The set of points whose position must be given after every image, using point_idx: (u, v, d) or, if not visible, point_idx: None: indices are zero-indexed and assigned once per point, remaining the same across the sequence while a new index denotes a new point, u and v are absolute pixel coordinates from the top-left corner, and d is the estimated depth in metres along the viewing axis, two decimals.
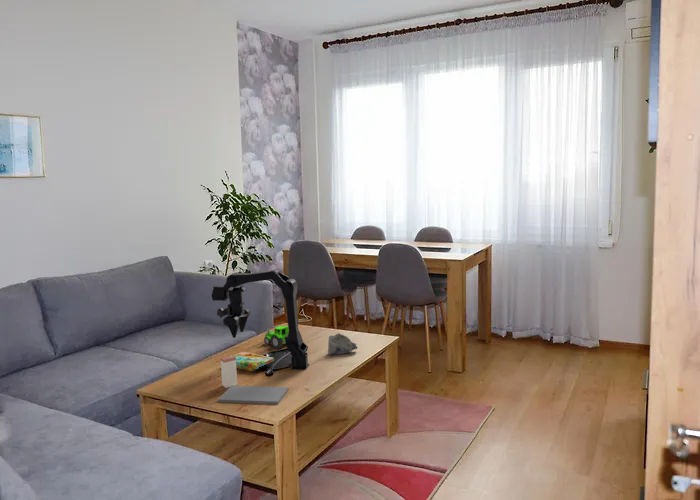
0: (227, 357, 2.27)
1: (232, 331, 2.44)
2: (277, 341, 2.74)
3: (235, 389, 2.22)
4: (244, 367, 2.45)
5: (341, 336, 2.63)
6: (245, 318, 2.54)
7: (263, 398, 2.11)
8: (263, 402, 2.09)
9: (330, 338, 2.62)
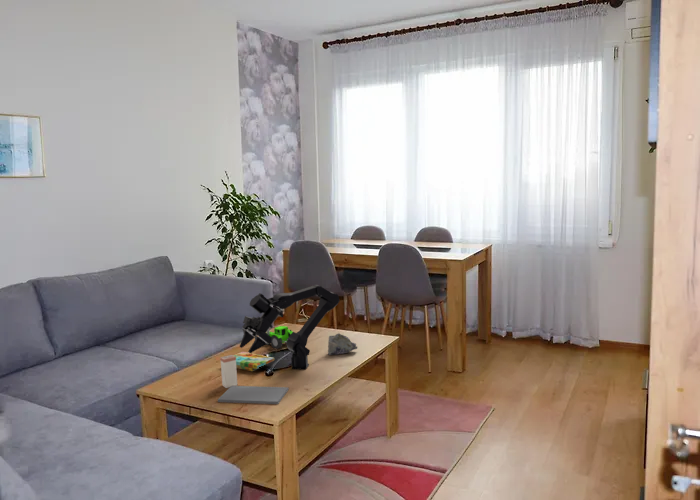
0: (227, 357, 2.27)
1: (254, 346, 2.27)
2: (277, 341, 2.74)
3: (235, 389, 2.22)
4: (244, 367, 2.45)
5: (341, 336, 2.63)
6: (252, 337, 2.38)
7: (263, 398, 2.11)
8: (263, 402, 2.09)
9: (330, 338, 2.62)
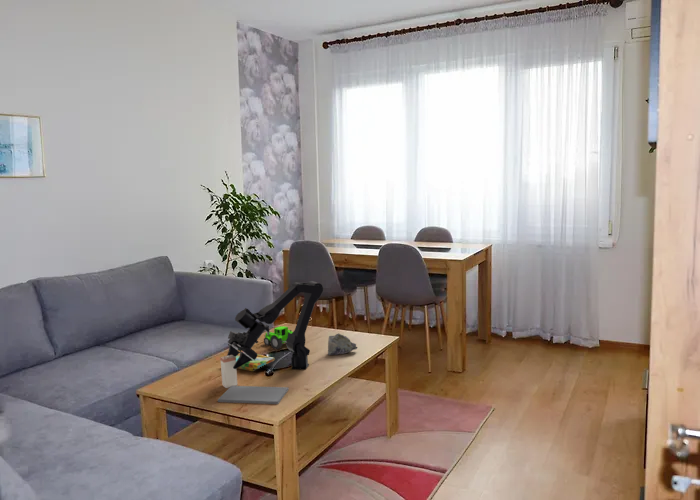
0: (227, 357, 2.27)
1: (239, 361, 2.24)
2: (277, 342, 2.73)
3: (235, 389, 2.22)
4: (245, 367, 2.45)
5: (341, 336, 2.63)
6: (237, 352, 2.35)
7: (263, 398, 2.11)
8: (263, 402, 2.09)
9: (330, 338, 2.62)
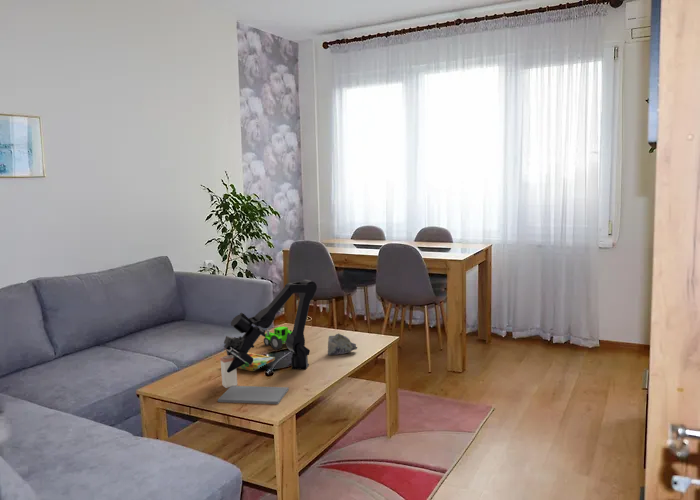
0: (227, 357, 2.27)
1: (232, 365, 2.25)
2: (277, 342, 2.73)
3: (235, 389, 2.22)
4: (245, 367, 2.45)
5: (341, 336, 2.63)
6: None
7: (263, 398, 2.11)
8: (263, 402, 2.09)
9: (330, 338, 2.62)
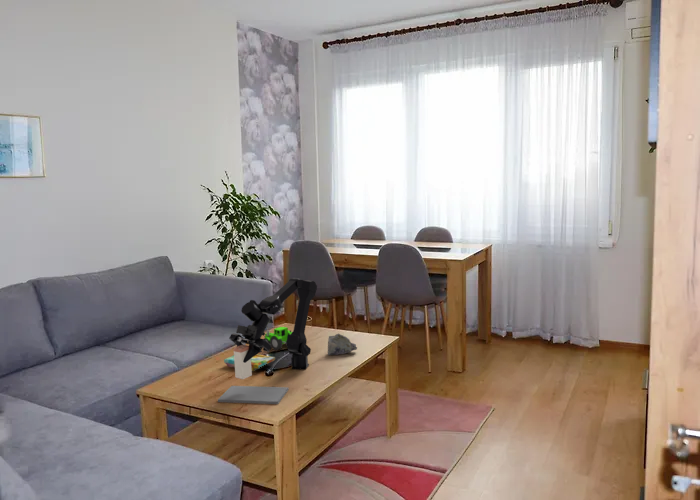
0: (240, 347, 2.17)
1: (249, 354, 2.16)
2: (277, 342, 2.72)
3: (235, 389, 2.22)
4: None
5: (341, 336, 2.62)
6: None
7: (263, 398, 2.11)
8: (263, 402, 2.09)
9: (329, 338, 2.62)
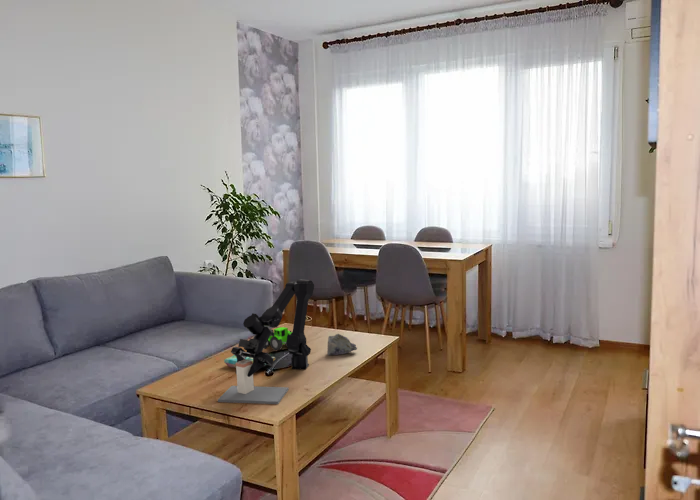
0: (243, 361, 2.17)
1: (253, 368, 2.16)
2: (277, 343, 2.71)
3: (235, 389, 2.22)
4: None
5: (340, 337, 2.62)
6: None
7: (263, 398, 2.11)
8: (263, 402, 2.09)
9: (329, 338, 2.62)
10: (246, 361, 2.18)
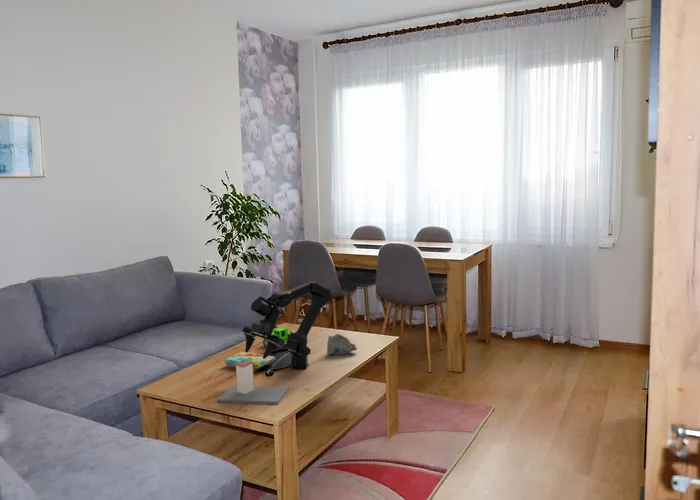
0: (243, 361, 2.17)
1: (268, 351, 2.26)
2: None
3: (235, 389, 2.22)
4: None
5: (340, 337, 2.62)
6: (253, 339, 2.34)
7: (263, 398, 2.11)
8: (263, 402, 2.09)
9: (329, 339, 2.61)
10: (246, 361, 2.18)
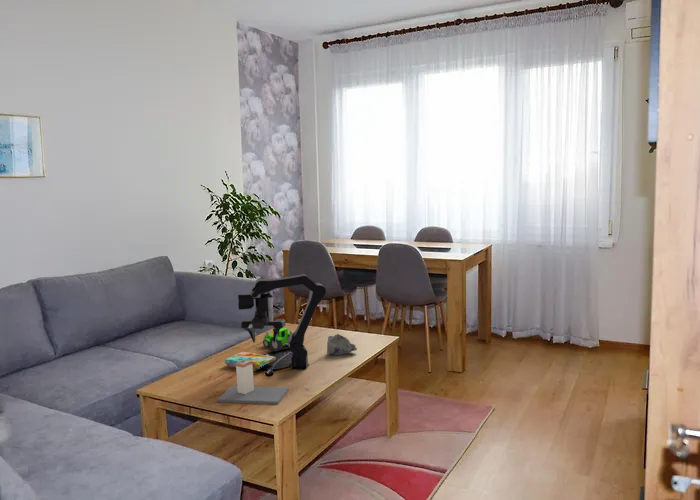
0: (243, 361, 2.17)
1: (276, 335, 2.40)
2: (277, 343, 2.70)
3: (235, 389, 2.22)
4: None
5: (340, 337, 2.62)
6: None
7: (263, 398, 2.11)
8: (263, 402, 2.09)
9: (329, 339, 2.61)
10: (246, 361, 2.18)
